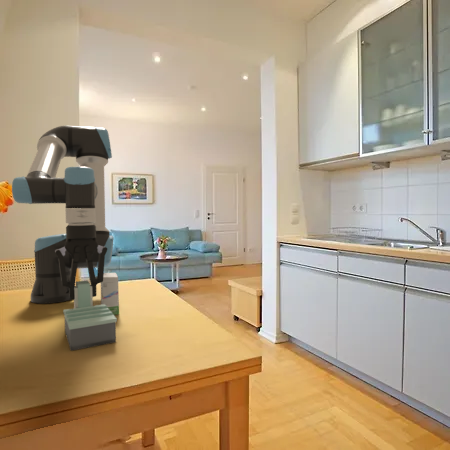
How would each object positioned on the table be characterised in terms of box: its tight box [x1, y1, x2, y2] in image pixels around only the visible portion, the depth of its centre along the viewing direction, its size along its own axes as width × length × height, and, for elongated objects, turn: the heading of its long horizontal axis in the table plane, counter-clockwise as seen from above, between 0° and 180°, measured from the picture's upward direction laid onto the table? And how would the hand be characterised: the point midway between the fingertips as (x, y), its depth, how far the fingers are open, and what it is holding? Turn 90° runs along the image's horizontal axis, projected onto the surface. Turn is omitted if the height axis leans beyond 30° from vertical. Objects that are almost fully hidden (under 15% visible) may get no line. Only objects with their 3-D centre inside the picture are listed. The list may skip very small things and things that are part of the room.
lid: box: [62, 280, 118, 330], centre depth 89 cm, size 10×20×8 cm, turn 30°
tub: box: [64, 318, 117, 351], centre depth 87 cm, size 10×14×5 cm
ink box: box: [100, 272, 120, 316], centre depth 109 cm, size 8×5×12 cm, turn 23°
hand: (83, 309), depth 96 cm, fingers closed on lid, 3 cm apart
